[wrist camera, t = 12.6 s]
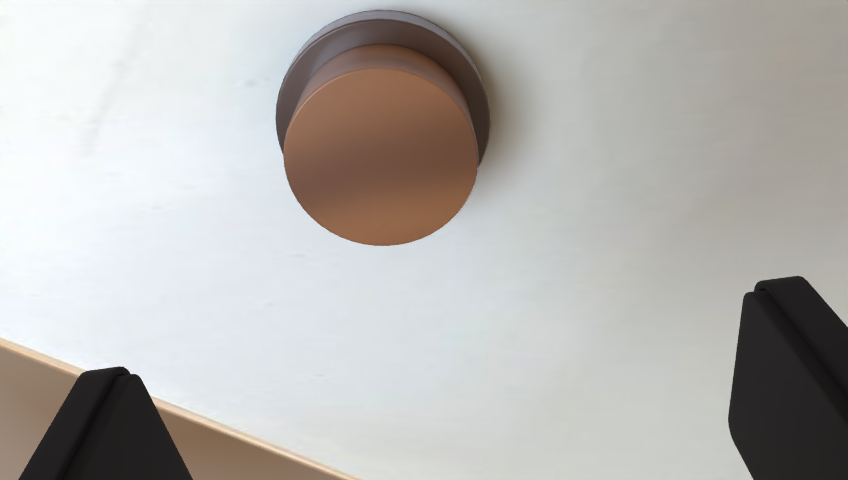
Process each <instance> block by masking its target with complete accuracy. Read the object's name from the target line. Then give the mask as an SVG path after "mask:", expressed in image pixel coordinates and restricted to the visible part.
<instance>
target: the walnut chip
mask: <svg viewBox="0 0 848 480" xmlns="http://www.w3.org/2000/svg"><path fill="white" fill-rule="evenodd" d="M376 44H385V45H395V46H402V47H405V48H409V49H412V50H415V51H417V52H420V53H422V54H424V55H426V56H428V57H429V58H431V59H432V60H434V61H436V62H437V63H438V64H439V65H441V66H442V67H443V68H444V69H445V70H446V71H447V72H448V73H449V74H450V75H451V76H452V77H453V78H454V80H455V81H456V83H457V84H458V85H459V87H460V88H461V90H462V92H463V94H464V96H465V98H466V101H467V104H468V107H469V110H470V115H471V119H472V123H473V128H474V132H475V136H476V141H477V146H478V167H479V166H480V164H481V162H482V159H483V157H484V154H485V151H486V148H487V144H488V140H489V133H490V110H489V105H488V99H487V95H486V92H485V89H484V86H483V83H482V80H481V77H480V74H479V72H478V70H477V68H476V66H475V64H474V62H473V60H472V59H471V57H470V56H469V55H468V53H467V52H466V50H465V49H464V48H463V47H462V46H461V45H460V44H459V42H458V41H457V40H456V39H454V38H453V37H452V36H451V35H450V34H448V33H447V32H446V31H445V30H443V29H442V28H440V27H438V26H437V25H435V24H434V23H431V22H429V21H427V20H425V19H423V18H421V17H418V16H414V15H411V14H408V13H403V12H397V11H385V10H376V11H366V12H360V13H356V14H352V15H349V16H346V17H344V18H341V19H338V20H336V21H334V22H332V23H331V24H329V25H327V26H325V27H324V28H322V29H321V30H320V31H319V32H317V33H316V34H315V35H313V36H312V37H311V38H310V39H309V40H308V41H307V42H306V43H305V44H304V45H303V47H302V48H301V49H300V51H299V52H298V54H297V55H296V56H295V58H294V60H293V62H292V64H291V65H290V67H289V69H288V71H287V73H286V75H285V77H284V79H283V82H282V85H281V88H280V91H279V95H278V100H277V104H276V130H277V135H278V140H279V145H280V147H281V150H282V153H283V154H284V142H285V137H286V133H287V129H288V127H289V124H290V121H291V119H292V116H293V114H294V111H295V109H296V106H297V104H298V101H299V99H300V96H301V94H302V92H303V90H304V88H305V86H306V85H307V83H308V81H309V80H310V79H311V78H312V76H313V75H314V74H315V73H316V72H317V71H318V70H319V69H320V68H321V67H322V66H323V65H324V64H325V63H327V62H328V61H329V60H331V59H332V58H334V57H336V56H338V55H339V54H341V53H343V52H346V51H348V50H351V49H354V48H358V47H362V46H366V45H376ZM283 156H284V155H283Z"/></svg>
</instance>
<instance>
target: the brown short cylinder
mask: <svg viewBox="0 0 848 480" xmlns="http://www.w3.org/2000/svg"><path fill="white" fill-rule="evenodd" d="M283 155H284V167H285V171H286V176H287V179H288V182H289V185H290V187H291V190H292V192H293V193H294V195H295V197H296V199H297V200H298V202H299V203H300V205H301V206H302V207H303V209H304V210H305V211H306V212H307V213H308V214H309V215H310V216H311V218H313V219H314V220H315V221H316V222H317V223H318V224H320V225H321V226H322V227H324V228H325V229H327V230H328V231H330V232H332V233H334V234H336V235H338V236H340V237H342V238H345V239H347V240H350V241H353V242H357V243H361V244H367V245H375V246H390V245H399V244H404V243H409V242H412V241H415V240H418V239H421V238H424V237H426V236H428V235H430V234H432V233H434V232H435V231H437V230H438V229H440V228H442V227H443V226H444V225H445V224H447V223H448V222H449V221H450V220H451V219H452V218H453V217H454V216H455V215H456V214H457V213H458V212H459V211H460V209H461V208H462V206H463V205H464V204H465V202H466V201H467V199H468V197H469V195H470V193H471V191H472V188H473V186H474V183H475V179H476V175H477V170H478V146H477V141H476V136H475V132H474V128H473V123H472V119H471V115H470V110H469V107H468V104H467V101H466V98H465V96H464V94H463V92H462V90H461V88H460V87H459V85H458V84H457V83H456V81H455V80H454V78H453V77H452V76H451V75H450V74H449V73H448V72H447V71H446V70H445V69H444V68H443V67H442V66H441V65H439V64H438V63H437V62H436V61H434V60H432V59H431V58H429V57H428V56H426V55H424V54H422V53H420V52H417V51H415V50H412V49H409V48H405V47H402V46H395V45H385V44H376V45H366V46H362V47H358V48H354V49H351V50H348V51H346V52H343V53H341V54H339V55H338V56H336V57H334V58H332V59H331V60H329V61H328V62H327V63H325V64H324V65H323V66H322V67H321V68H320V69H319V70H318V71H317V72H316V73H315V74H314V75H313V76H312V78H311V79H310V80H309V81H308V83H307V85H306V86H305V88H304V90H303V92H302V94H301V96H300V99H299V101H298V104H297V106H296V109H295V111H294V114H293V116H292V119H291V121H290V124H289V127H288V129H287V133H286V137H285V142H284V154H283Z"/></svg>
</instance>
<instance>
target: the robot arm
mask: <svg viewBox="0 0 848 480" xmlns="http://www.w3.org/2000/svg"><path fill="white" fill-rule="evenodd" d="M728 422H729V429H730V433H731V436H732V439H733V441H734V443H735V445H736V447H737V449H738V451H739V453H740V455H741V457H742V459H743V460H744V462H745V464H746V466H747V468H748V470H749V472H750V474H751V476H752V478H753V479H754V480H848V327H847V326H846V325H845V324H844V323H843V321H842V320H841V319H840V318H839V317H838V316H837V315H836V313H835V312H834V311H833V310H832V309H831V308H830V307H829V305H828V304H827V303H826V302H825V301H824V300H823V298H822V297H821V296H820V295H819V294H818V293H817V292H816V290H815V289H814V288H813V287H812V286H811V285H810V284H809V282H808V281H807V280H805V279H804V278H803V277H800V276H793V277H786V278H778V279H771V280H764V281H760V282H758V283H757V284H756V286H755V289H754V292H748V293H746V294H745V296H744V299H743V305H742V313H741V321H740V328H739V336H738V344H737V352H736V360H735V368H734V376H733V384H732V392H731V400H730V407H729V415H728ZM19 480H193V479H192V477H191V475H190V473H189V471H188V469H187V467H186V465H185V463H184V461H183V459H182V458H181V456H180V454H179V452H178V450H177V448H176V446H175V444H174V442H173V440H172V438H171V436H170V434H169V432H168V430H167V428H166V427H165V424H164V422H163V421H162V419H161V417H160V415H159V413H158V411H157V409H156V407H155V405H154V403H153V401H152V399H151V397H150V395H149V393H148V391H147V389H146V387H145V385H144V384H143V382H142V380H141V378H140V377H139V376H138V375H136V374H130V372H129V371H128V370H127V369H126V368H124V367H113V368H105V369H98V370H90V371H86V372H84V373H82V374H81V375H80V376H79V378H78V379H77V381H76V382H75V384H74V386H73V387H72V389H71V391H70V393H69V394H68V396H67V398H66V400H65V401H64V403H63V405H62V406H61V408H60V410H59V412H58V413H57V415H56V417H55V418H54V420H53V422H52V423H51V425H50V427H49V428H48V430H47V432H46V434H45V435H44V437H43V439H42V440H41V442H40V444H39V445H38V447H37V449H36V451H35V452H34V454H33V456H32V458H31V459H30V461H29V463H28V464H27V466H26V468H25V469H24V471H23V473H22V474H21V476H20V478H19Z"/></svg>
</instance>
